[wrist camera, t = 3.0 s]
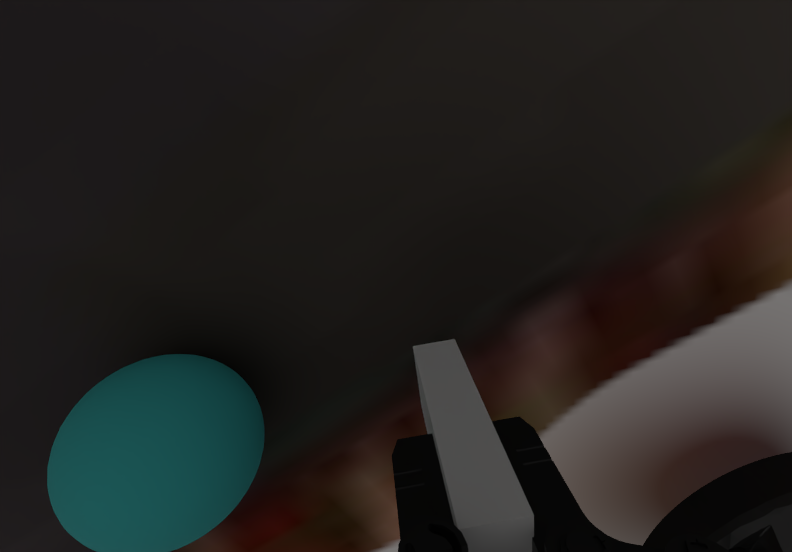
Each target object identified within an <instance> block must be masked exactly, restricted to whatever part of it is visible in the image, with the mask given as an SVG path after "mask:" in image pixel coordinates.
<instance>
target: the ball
mask: <svg viewBox="0 0 792 552" xmlns="http://www.w3.org/2000/svg"><path fill="white" fill-rule="evenodd" d="M263 447H264V421H263V415H262V411H261V408H260V405H259V403H258V401H257V398H256V396H255V394H254V392H253V391H252V389H251V388H250V386H249V385H248V384H247V383H246V382H245V380H244V379H243V378H242V377H241V376H240V375H239V374H237V373H236V372H235V371H234V370H232V369H231V368H229V367H228V366H226V365H224V364H222V363H220V362H218V361H216V360H213V359H210V358H207V357H203V356H198V355H190V354H168V355H160V356H156V357H151V358H147V359H143V360H140V361H138V362H135V363H133V364H130V365H128V366H125V367H123V368H121V369H120V370H118V371H116V372H114V373H112V374H111V375H109V376H108V377H106V378H105V379H103V380H102V381H101V382H99V383H98V384H97V385H95V386H94V387H93V388H92V389H91V390H89V391H88V392H87V393H86V394H85V395H84V396H83V397H82V398H81V400H80V401H79V402H78V403H77V404H76V405H75V406H74V408H73V409H72V410H71V412H70V413H69V415H68V416H67V418H66V419H65V421H64V422H63V424H62V426H61V427H60V430H59V432H58V434H57V436H56V439H55V441H54V443H53V446H52V449H51V454H50V458H49V463H48V474H47V487H48V493H49V497H50V502H51V505H52V508H53V510H54V513H55V514H56V516H57V518H58V520H59V521H60V523H61V525H62V526H63V527H64V529H65V530H66V531H67V532H68V533H69V534H70V535H71V536H72V537H74V538H75V539H76V540H77V541H79V542H80V543H81V544H83V545H85V546H86V547H88V548H90V549H92V550H94V551H97V552H170V551H173V550H176V549H179V548H181V547H183V546H185V545H188V544H189V543H191V542H193V541H195V540H197V539H199V538H200V537H202V536H204V535H205V534H206V533H208V532H209V531H210V530H212V529H213V528H215V527H216V526H217V525H218V524H219V523H221V522H222V521H223V520H224V519H225V518H226V517H227V516H228V515H229V514H230V513H231V512H232V511H233V509H234V508H235V507H236V506H237V505H238V503H239V502H240V501H241V499H242V498H243V497H244V495H245V494H246V492H247V490H248V489H249V487H250V485H251V483H252V482H253V479H254V477H255V475H256V472H257V470H258V467H259V465H260V461H261V457H262V452H263Z"/></svg>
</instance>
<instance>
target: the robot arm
mask: <svg viewBox="0 0 792 552" xmlns="http://www.w3.org/2000/svg"><path fill="white" fill-rule="evenodd" d="M413 351H414V358H415V365H416V372H417V379H418V386H419V393H420V400H421V407H422V411H423V416H424V420H425V425H426V429H427V433H428V434H426V435H420V436H415V437H409V438H404V439H398V440H397V443H396V446H395V449H394V451H393V454H392V461H393V471H394V480H395V489H396V500H397V509H398V519H399V529H400V539H401V541H400V543H399V548H398V552H792V452H791V453H785V454H780V455H776V456H772V457H768V458H765V459H761V460H758V461H755V462H753V463H750V464H747V465H745V466H742V467H740V468H737V469H735V470H733V471H731V472H729V473H727V474H725V475H723V476H721V477H719V478H717V479H715V480H713V481H712V482H710V483H708V484H707V485H705V486H703V487H702V488H700V489H699V490H697V491H696V492H694V493H693V494H691V495H690V496H689V497H687V498H686V499H685V500H683V501H682V502H681V503H680V504H679V505H677V506H676V507H675V508H674V509H673V510H672V511H671V512H670V513H669V514H668V515H667V516H665V517H664V519H662V521H661V522H660V523H659V524H658V525H657V526H656V527H655V529H654V530H653V531H652V533H651V534H650V535H649V537H648V538H647V540H646V541H645V543H644V545H643V546H641V545H635V544H629V543H625V542H622V541H618V540H616V539H614V538H612V537H610V536H607V535H606V534H604V533H603V532H602V531H600V530H599V529H598V528H596V527H595V526H594V525H593V524H592V523H591V522H590V521H589V520H588V519H587V517H586V516H585V515H584V513H583V512H582V510H581V509H580V507H579V505H578V503H577V502H576V500H575V498H574V496H573V495H572V493H571V491H570V490H569V488H568V486H567V484H566V483H565V481H564V479H563V477H562V476H561V474H560V472H559V471H558V469H557V467H556V466H555V464H554V462H553V461H552V460H551V457H550V455H549V453H548V452H547V450H546V449H545V448H544V446H543V443H542V441H541V440H540V438H539V436H538V434H537V433H536V431H535V429H534V428H533V427H532V426H530V425H529V424H528V423H527V422H525V421H524V420H523V419H522V418H520V417H514V418H509V419H503V420H497V421H491V419H490V417H489V414H488V412H487V410H486V408H485V405H484V403H483V401H482V399H481V397H480V394H479V392H478V390H477V388H476V385H475V383H474V381H473V379H472V377H471V374H470V372H469V370H468V368H467V366H466V363H465V361H464V359H463V357H462V354H461V352H460V350H459V348H458V346H457V343H456V341H455V339H451V340H446V341H440V342H434V343H428V344H422V345H417V346H413Z"/></svg>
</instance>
